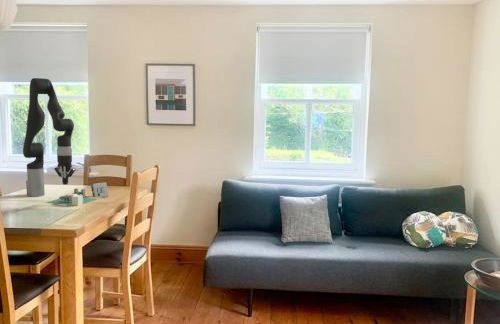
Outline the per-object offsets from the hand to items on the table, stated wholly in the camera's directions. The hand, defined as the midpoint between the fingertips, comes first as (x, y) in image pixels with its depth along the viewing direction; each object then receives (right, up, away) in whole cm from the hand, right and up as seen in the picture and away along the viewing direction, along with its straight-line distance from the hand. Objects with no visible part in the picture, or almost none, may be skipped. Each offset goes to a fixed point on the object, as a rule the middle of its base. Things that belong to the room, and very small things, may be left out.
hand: (65, 184), depth 229 cm
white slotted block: (+1, -10, +6) cm, 12 cm away
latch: (+6, -11, -3) cm, 13 cm away
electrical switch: (+11, -10, +23) cm, 27 cm away
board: (+1, -11, +7) cm, 13 cm away
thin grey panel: (+1, -7, +5) cm, 9 cm away
